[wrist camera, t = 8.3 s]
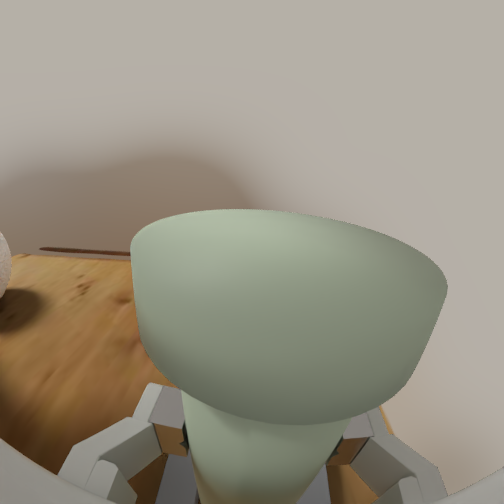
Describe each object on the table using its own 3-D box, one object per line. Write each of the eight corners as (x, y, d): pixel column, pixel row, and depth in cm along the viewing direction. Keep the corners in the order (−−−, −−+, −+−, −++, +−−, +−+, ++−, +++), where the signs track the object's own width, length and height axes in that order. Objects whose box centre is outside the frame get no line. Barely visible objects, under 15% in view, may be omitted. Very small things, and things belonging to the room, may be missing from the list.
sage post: (163, 477, 10) (105, 219, 6) (257, 436, 13) (293, 206, 9) (231, 563, 5) (292, 437, 1) (329, 500, 9) (469, 265, 5)
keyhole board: (327, 576, 8) (337, 575, 7) (147, 565, 8) (139, 563, 7) (307, 396, 28) (312, 382, 28) (194, 387, 29) (193, 373, 28)
